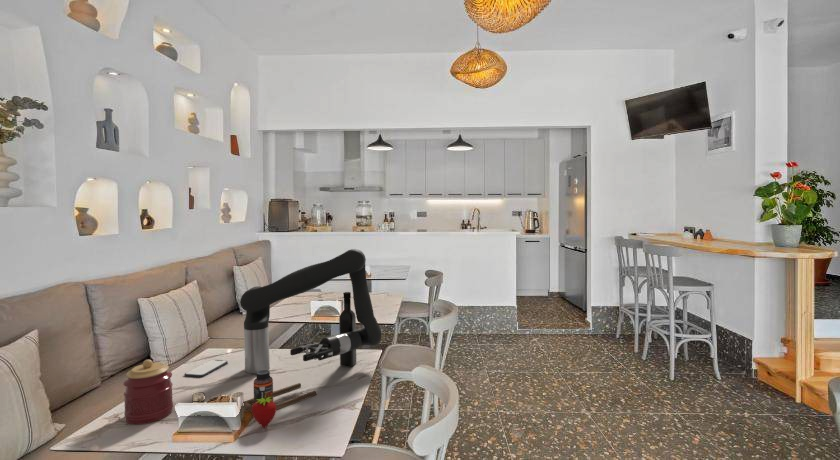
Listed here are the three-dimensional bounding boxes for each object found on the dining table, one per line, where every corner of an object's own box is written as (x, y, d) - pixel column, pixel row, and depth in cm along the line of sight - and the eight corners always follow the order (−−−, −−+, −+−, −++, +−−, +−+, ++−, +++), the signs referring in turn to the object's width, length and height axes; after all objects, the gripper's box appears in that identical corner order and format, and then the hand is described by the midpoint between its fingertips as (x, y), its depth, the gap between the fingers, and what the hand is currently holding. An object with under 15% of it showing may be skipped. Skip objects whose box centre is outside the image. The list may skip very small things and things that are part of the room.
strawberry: (260, 420, 129) (259, 387, 129) (281, 423, 127) (280, 391, 126) (246, 429, 123) (246, 396, 123) (268, 433, 121) (267, 399, 121)
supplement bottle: (267, 411, 135) (266, 376, 135) (250, 409, 136) (249, 374, 136) (276, 402, 141) (276, 369, 140) (260, 401, 142) (259, 368, 142)
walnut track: (242, 405, 139) (242, 401, 139) (299, 386, 154) (299, 382, 154) (258, 416, 131) (258, 412, 131) (316, 394, 147) (316, 391, 147)
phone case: (202, 379, 163) (229, 364, 179) (202, 375, 163) (229, 360, 179) (182, 378, 165) (210, 362, 181) (182, 374, 165) (210, 359, 181)
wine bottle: (344, 361, 179) (343, 291, 178) (357, 362, 178) (355, 291, 177) (339, 366, 174) (337, 293, 173) (352, 367, 173) (351, 294, 171)
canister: (143, 405, 140) (141, 352, 139) (182, 405, 140) (180, 352, 139) (113, 425, 127) (111, 367, 126) (156, 425, 127) (154, 367, 126)
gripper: (324, 331, 165) (286, 340, 153) (347, 339, 155) (308, 349, 143) (324, 350, 165) (286, 360, 153) (347, 359, 155) (308, 371, 144)
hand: (297, 355), depth 148 cm, fingers open, 8 cm apart
